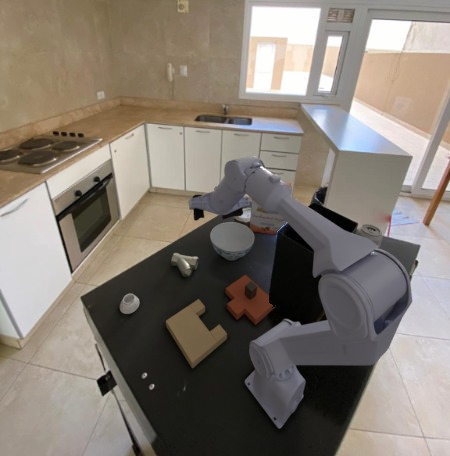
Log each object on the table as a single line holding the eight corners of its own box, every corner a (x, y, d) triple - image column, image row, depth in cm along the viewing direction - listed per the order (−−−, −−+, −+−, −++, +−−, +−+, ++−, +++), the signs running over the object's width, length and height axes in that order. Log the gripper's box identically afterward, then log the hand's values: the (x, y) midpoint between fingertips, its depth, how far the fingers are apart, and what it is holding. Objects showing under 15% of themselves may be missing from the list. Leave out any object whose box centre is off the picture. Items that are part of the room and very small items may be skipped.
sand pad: (226, 339, 62) (227, 333, 61) (192, 368, 55) (192, 363, 55) (198, 303, 70) (198, 298, 69) (166, 326, 64) (165, 320, 63)
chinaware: (247, 275, 80) (249, 256, 77) (203, 262, 84) (203, 244, 81) (256, 244, 93) (258, 227, 90) (218, 235, 97) (218, 218, 94)
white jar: (119, 301, 70) (120, 317, 65) (118, 294, 68) (119, 309, 64) (138, 295, 72) (140, 310, 67) (137, 287, 71) (139, 302, 66)
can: (375, 254, 91) (384, 227, 86) (374, 268, 85) (383, 239, 80) (352, 246, 94) (360, 219, 90) (350, 258, 88) (358, 230, 84)
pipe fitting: (192, 281, 77) (198, 263, 83) (191, 272, 76) (198, 255, 82) (167, 276, 79) (175, 259, 85) (166, 267, 77) (174, 250, 83)
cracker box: (248, 232, 100) (253, 185, 92) (249, 223, 105) (254, 178, 98) (284, 237, 98) (292, 189, 90) (284, 227, 103) (291, 182, 96)
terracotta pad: (275, 307, 70) (277, 292, 68) (247, 332, 63) (249, 316, 61) (245, 279, 78) (246, 265, 76) (217, 298, 72) (218, 284, 70)
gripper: (253, 177, 60) (232, 201, 70) (194, 176, 54) (180, 202, 65) (260, 205, 56) (237, 226, 66) (197, 207, 50) (182, 229, 61)
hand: (209, 216), depth 65 cm, fingers open, 7 cm apart
